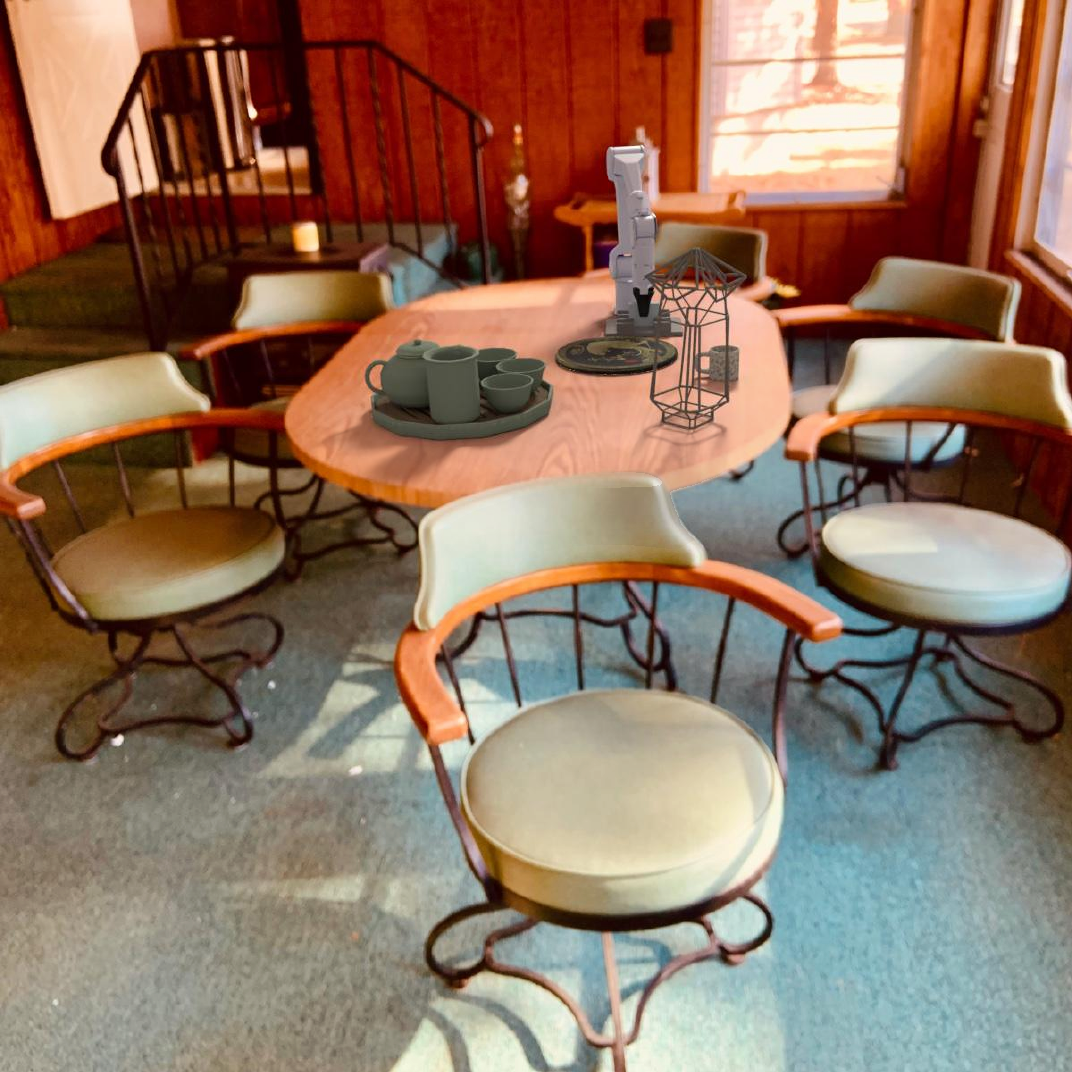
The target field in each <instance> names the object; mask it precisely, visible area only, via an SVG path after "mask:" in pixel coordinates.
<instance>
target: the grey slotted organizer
mask: <svg viewBox="0 0 1072 1072" xmlns="http://www.w3.org/2000/svg"><path fill="white" fill-rule="evenodd" d="M661 311H662V308H661ZM668 311H670V308H664V310H663V312H662V313H665V312H668ZM616 316H617V318H607V319H606V321H605V335H604V337H606V336H637V337H644V336H652V337H656V333H657V320H658V319H657V317H655V318H653V326H640V327H634V318H629V310H617V315H616ZM662 318H664V319H668V320H672V321H676V322H679V323H682V319H681V317H680V316H678V317H677V316H674V317H673V316H671V313H668V314H665V315H662ZM675 335H679V337H680V336H681V335H683V336H684V329H683V325H680V324H676V323H672V322H668V321H664V320H661V328H660V337H676V336H675Z"/></svg>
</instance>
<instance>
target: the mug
mask: <svg viewBox="0 0 1072 1072" xmlns="http://www.w3.org/2000/svg"><path fill="white" fill-rule="evenodd" d="M725 356H726V344H720V345H719V344H717V345H713V346H711V347H710V348H709V350H705V351H701V358H702V357H706V358H709V360H708V361H709V362H708V363H709V364H708V365H709V367H708V368H701V374H704V375H708V378H709V380H711V381H714V382H720V383H722V382H723V383H725ZM739 369H740V348H739V347H738V346H736V345H732V344H731V345H729V382H734V381H736V380H738V379H739V376H740V375H739V374H740V372H739ZM695 372H697V373H698V352H696V354H695Z"/></svg>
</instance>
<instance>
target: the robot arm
mask: <svg viewBox="0 0 1072 1072" xmlns="http://www.w3.org/2000/svg"><path fill="white" fill-rule="evenodd" d="M646 164H647V152H646V147H644V145H643V144H639V145H634V146H632V145H631V146H614V147H613V146H610V147H608V149H607V151H606V174H607V176H608V180H609V181H611V182H613V183H614V188H615V197H616V213H617V215H616V216H617V231H618V244H617V245H616V246H615V247H614V248H613V249H612V250H611V251H610V253H609V261H608V266H609V267H608V268H609V269H608V270H609V276H610V279H612V281H613V280H614V281H615V284H614V285H615V287H614V288H615V289H614V290H615V305H614V311H613V313H614V315H615V316H617V310H629V302H637V305H638V312H639V316H640V317H648V314H649V308H650V303H651V302H652V298H653V297H654V295H655V287H654V286H653V285H652V284H651V283H650V282H649V281H648V280H647V279H645V280H643V276H645V275H646V274H648V273H650V272H652V271H654V270H655V268H656V267H655V258H656V257H655V255H656V254H655V251H656V250H655V247H656V246H655V239H656V238H657V236H658V221H657V217H656V215H655V213H654V211H652V209H651V204H650V199H649V196H648V194H647V193H646V192H645V191H644V190H643V184H642V183H643V182H642V174H643V173H644V172H645V171H644V170H645V168H646ZM619 255H620V256H619ZM621 255H622V256H621ZM653 275H655V274H653ZM653 278H655V277H653Z"/></svg>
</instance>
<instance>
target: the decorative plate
mask: <svg viewBox="0 0 1072 1072" xmlns="http://www.w3.org/2000/svg"><path fill="white" fill-rule="evenodd" d="M655 346H656V338H653V337H637V336H599V337H598V336H596V337H591V338H585V339H580V340H576V341H572V342H570V343H567V344H565V345H563V346H562V347H560V348H559V349H558V350H557V351H556V355H555V362H556V361H557V362H556V363H557V364H558V365H559V366H560V365H561V366H560V367H562V368H564V369H567V370H569V369H571V370H570V371H572V370H575V371H574V372H576V371H579V372H578V373H581V372H583V373H582V374H588V373H589V374H588V375H598V374H607V375H606V376H614V375H613V374H628V375H634V374H633V373H637V374H643V373H642V372H644V373H648V372H647V371H650V372H653V371H652V370H653V365H654V356H655ZM678 357H679V350H678V349H677V347H676V346H674V345H673V344H672V343H670V342H668V341H665V340H662V339H659V345H658V355H657V368H656V369H658V370H660V368H661V369H663V367H664V368H666V367H668V365H669V366H670V365H672V364H674V363H675V362H676V361H677V360H678ZM674 361H675V362H674ZM673 362H674V363H673ZM671 363H672V364H671ZM665 366H666V367H665ZM631 373H632V374H631ZM611 374H612V375H611Z"/></svg>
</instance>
